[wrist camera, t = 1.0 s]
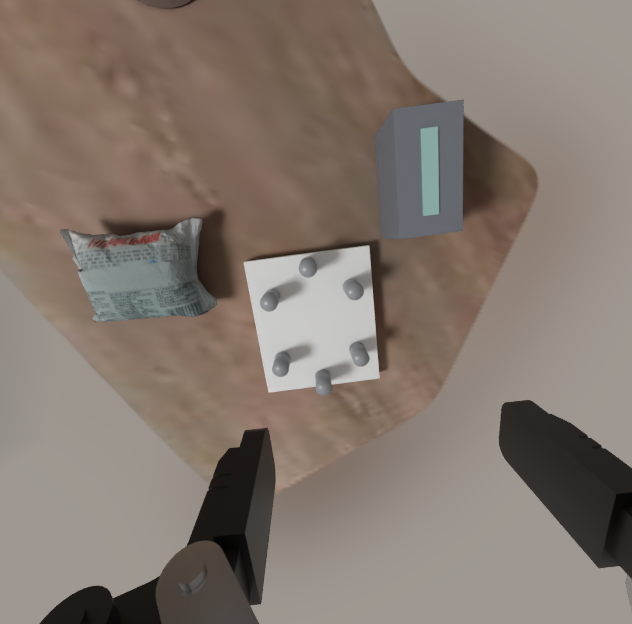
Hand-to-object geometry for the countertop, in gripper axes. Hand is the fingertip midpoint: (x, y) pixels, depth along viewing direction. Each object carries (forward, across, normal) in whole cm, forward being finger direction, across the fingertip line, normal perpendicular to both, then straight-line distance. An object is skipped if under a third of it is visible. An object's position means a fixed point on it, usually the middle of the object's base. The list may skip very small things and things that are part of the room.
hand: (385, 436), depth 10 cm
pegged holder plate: (+21, +2, +2) cm, 21 cm away
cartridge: (+21, -8, -10) cm, 25 cm away
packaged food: (+22, +17, -5) cm, 28 cm away
